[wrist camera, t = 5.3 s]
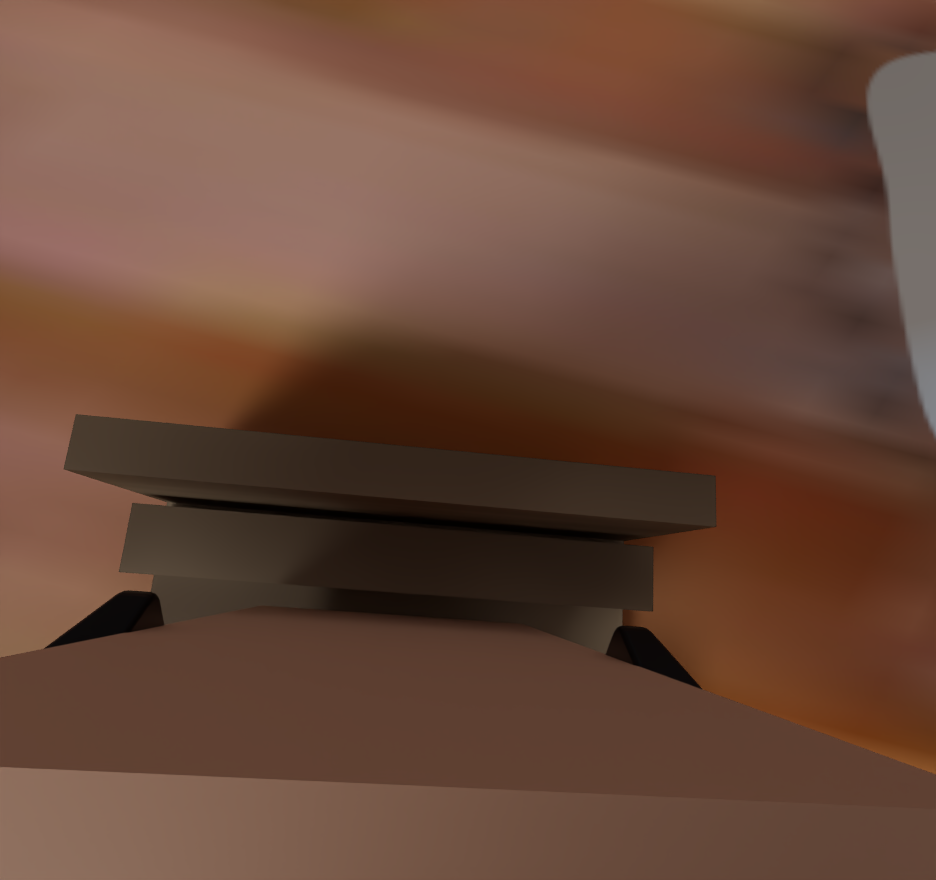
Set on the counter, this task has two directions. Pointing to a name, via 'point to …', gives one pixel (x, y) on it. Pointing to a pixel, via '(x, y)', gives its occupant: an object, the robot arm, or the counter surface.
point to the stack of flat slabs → (386, 526)
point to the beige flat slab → (421, 763)
